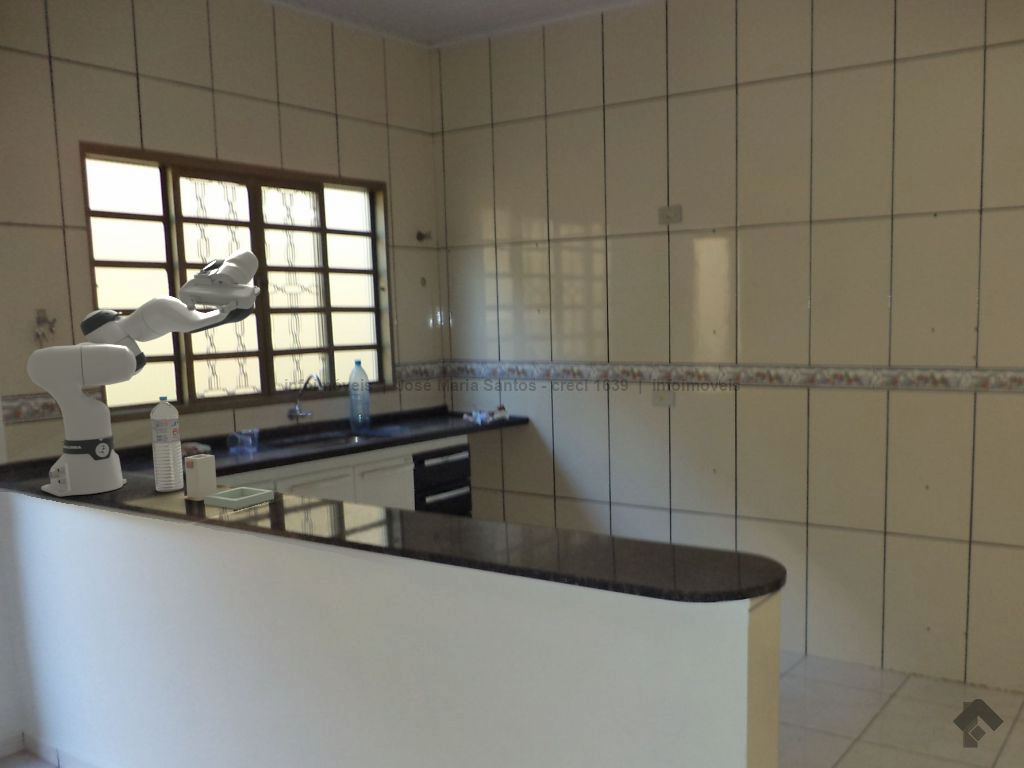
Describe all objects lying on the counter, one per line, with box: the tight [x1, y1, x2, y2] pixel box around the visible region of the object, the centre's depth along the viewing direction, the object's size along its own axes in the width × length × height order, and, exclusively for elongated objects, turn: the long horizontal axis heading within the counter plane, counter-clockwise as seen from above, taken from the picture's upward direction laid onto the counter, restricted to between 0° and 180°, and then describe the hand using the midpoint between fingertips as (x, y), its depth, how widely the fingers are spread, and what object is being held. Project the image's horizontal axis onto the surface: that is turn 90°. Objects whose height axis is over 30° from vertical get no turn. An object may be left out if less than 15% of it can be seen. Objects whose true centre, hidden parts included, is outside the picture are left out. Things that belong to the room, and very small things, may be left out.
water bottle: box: [149, 395, 185, 493], centre depth 219 cm, size 7×7×25 cm
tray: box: [203, 486, 275, 512], centre depth 202 cm, size 11×11×2 cm
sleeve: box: [184, 453, 218, 499], centre depth 209 cm, size 5×6×10 cm
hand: (206, 310), depth 223 cm, fingers open, 8 cm apart
